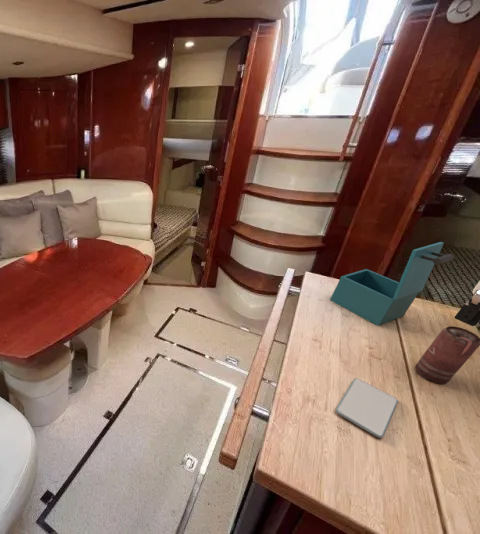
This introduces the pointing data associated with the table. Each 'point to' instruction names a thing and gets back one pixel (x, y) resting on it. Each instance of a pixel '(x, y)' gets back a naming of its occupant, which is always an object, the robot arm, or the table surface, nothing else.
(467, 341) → the can
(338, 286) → the box
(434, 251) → the cooler lid
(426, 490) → the table surface
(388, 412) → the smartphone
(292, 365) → the table surface
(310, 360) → the table surface
